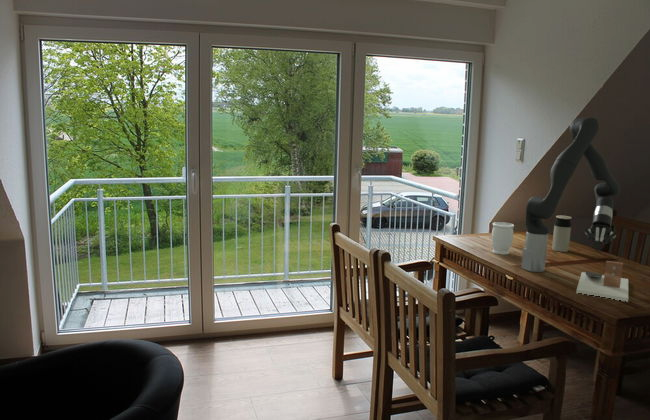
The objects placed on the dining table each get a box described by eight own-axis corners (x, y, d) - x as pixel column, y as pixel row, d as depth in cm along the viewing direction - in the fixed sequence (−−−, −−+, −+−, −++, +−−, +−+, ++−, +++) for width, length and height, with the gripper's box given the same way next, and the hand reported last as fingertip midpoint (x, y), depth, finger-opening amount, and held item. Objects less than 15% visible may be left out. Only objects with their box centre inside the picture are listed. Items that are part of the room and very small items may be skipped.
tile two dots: (603, 284, 221) (606, 260, 219) (619, 286, 218) (623, 263, 216) (603, 285, 220) (606, 261, 218) (619, 287, 217) (623, 263, 215)
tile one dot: (586, 272, 234) (586, 271, 225) (602, 274, 231) (602, 273, 223) (586, 275, 234) (585, 275, 225) (601, 278, 231) (601, 277, 222)
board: (581, 275, 239) (581, 271, 239) (627, 282, 231) (628, 279, 230) (576, 293, 214) (576, 289, 214) (627, 302, 206) (628, 298, 205)
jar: (504, 256, 267) (507, 227, 264) (485, 252, 275) (488, 223, 272) (515, 253, 274) (518, 224, 271) (497, 249, 282) (499, 221, 279)
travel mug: (569, 252, 278) (573, 218, 275) (552, 251, 280) (556, 217, 277) (567, 249, 286) (571, 216, 283) (551, 247, 288) (554, 214, 285)
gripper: (586, 211, 243) (581, 243, 234) (619, 214, 236) (615, 247, 228) (586, 221, 248) (580, 252, 240) (618, 224, 242) (614, 257, 234)
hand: (597, 249), depth 234 cm, fingers closed
